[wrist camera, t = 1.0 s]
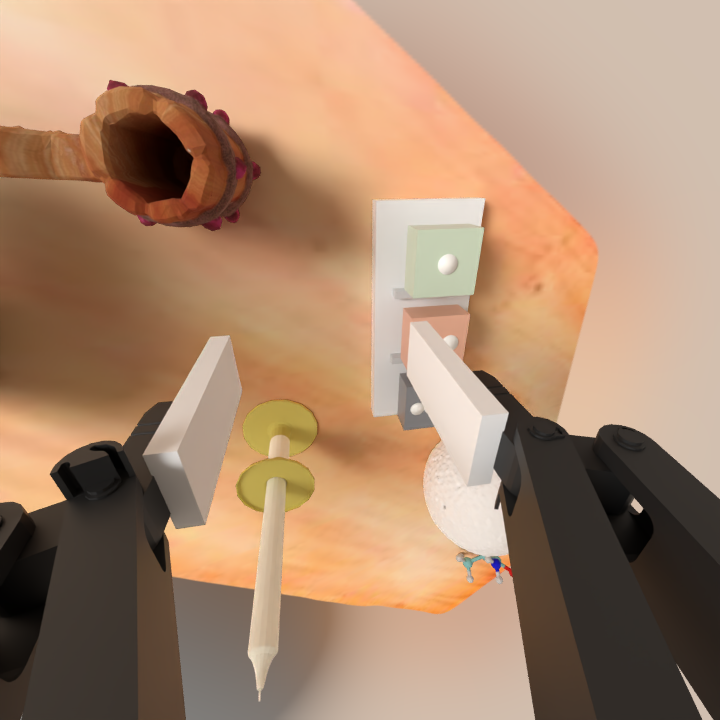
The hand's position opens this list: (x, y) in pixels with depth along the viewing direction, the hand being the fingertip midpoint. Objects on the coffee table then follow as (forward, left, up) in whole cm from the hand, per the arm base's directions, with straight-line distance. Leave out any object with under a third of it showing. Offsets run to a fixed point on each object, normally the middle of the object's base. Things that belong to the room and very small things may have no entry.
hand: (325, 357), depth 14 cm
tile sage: (+12, 0, -19) cm, 22 cm away
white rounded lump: (+21, -30, -23) cm, 44 cm away
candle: (-6, -23, -23) cm, 33 cm away
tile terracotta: (+12, -8, -19) cm, 24 cm away
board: (+12, -8, -23) cm, 27 cm away
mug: (-11, +8, -23) cm, 27 cm away
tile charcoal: (+12, -16, -19) cm, 27 cm away
